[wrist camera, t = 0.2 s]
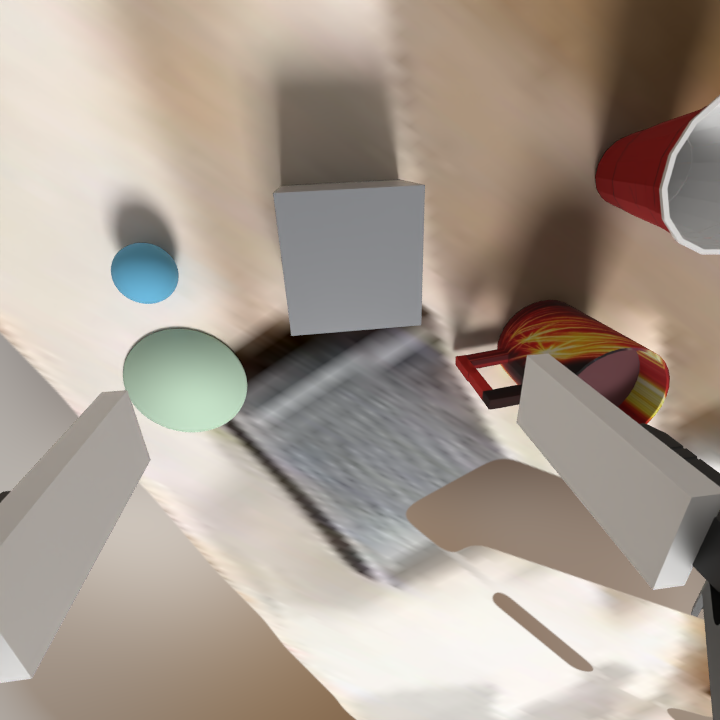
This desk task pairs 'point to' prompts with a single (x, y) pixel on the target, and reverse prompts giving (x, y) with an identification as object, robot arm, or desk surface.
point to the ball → (144, 273)
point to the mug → (573, 359)
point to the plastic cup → (670, 177)
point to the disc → (185, 380)
